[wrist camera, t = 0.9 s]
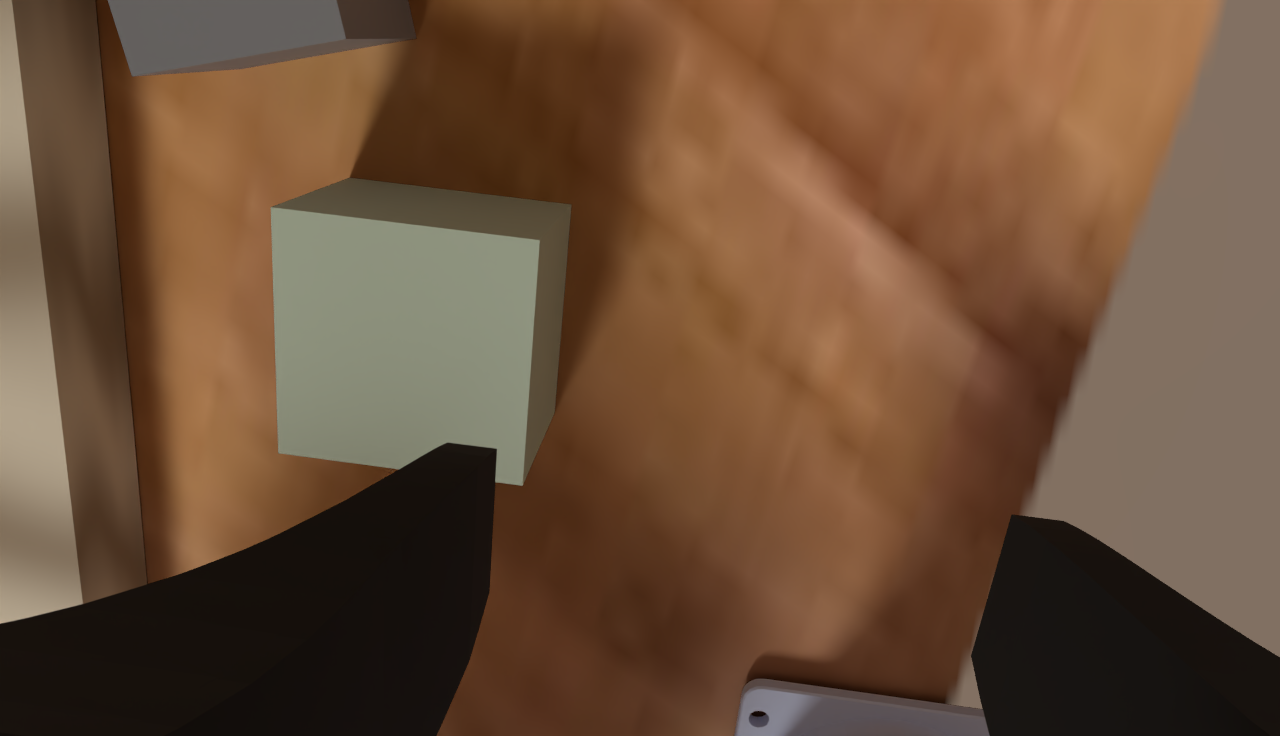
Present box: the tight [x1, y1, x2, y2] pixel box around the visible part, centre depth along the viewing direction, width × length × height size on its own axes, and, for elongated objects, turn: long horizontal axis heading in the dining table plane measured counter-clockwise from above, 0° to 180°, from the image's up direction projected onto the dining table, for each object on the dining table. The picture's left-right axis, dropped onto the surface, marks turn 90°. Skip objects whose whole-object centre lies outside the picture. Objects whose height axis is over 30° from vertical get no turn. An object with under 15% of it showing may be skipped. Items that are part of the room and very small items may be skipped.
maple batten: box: [0, 0, 147, 624], centre depth 21 cm, size 24×3×2 cm, turn 174°
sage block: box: [271, 178, 572, 486], centre depth 20 cm, size 5×5×4 cm
